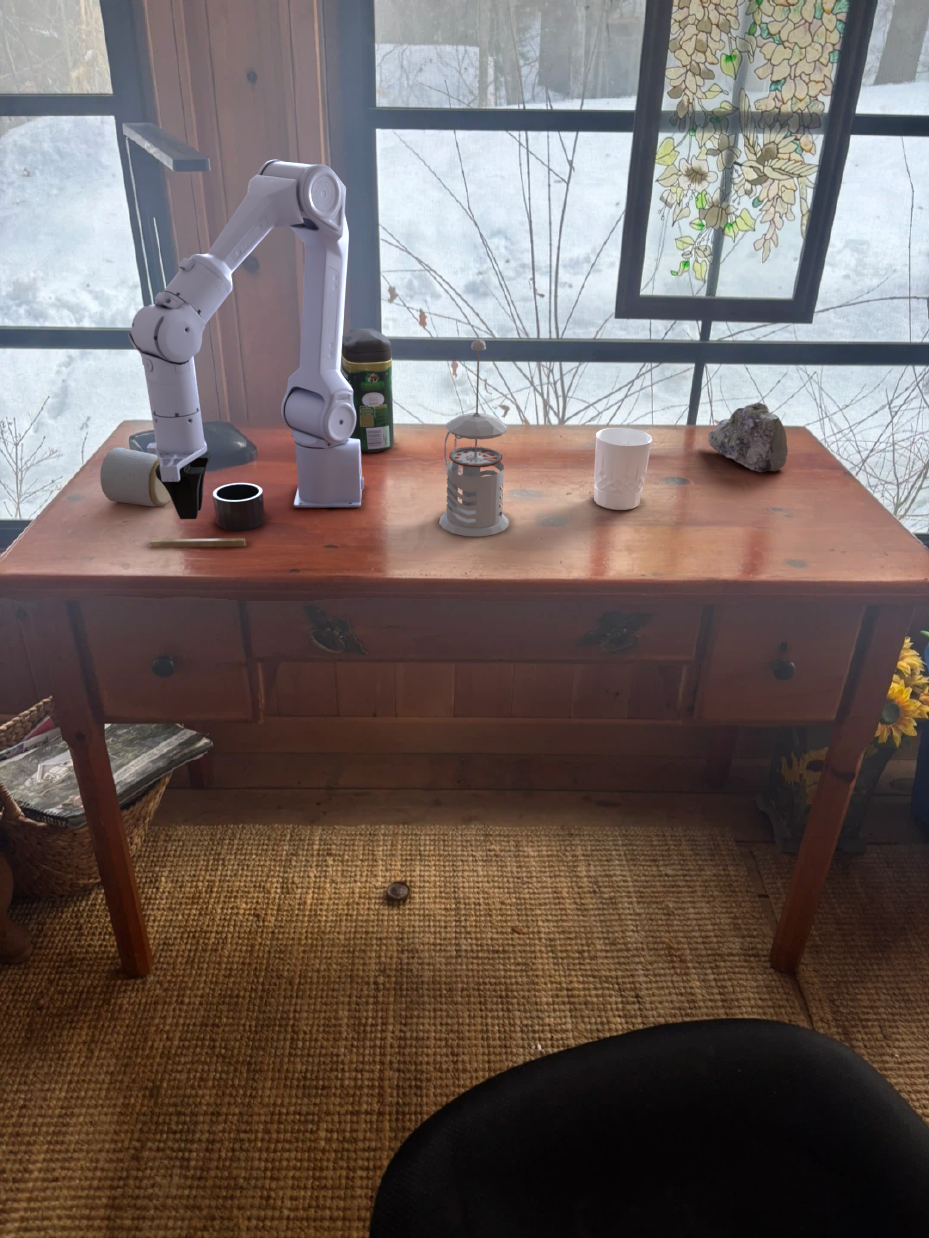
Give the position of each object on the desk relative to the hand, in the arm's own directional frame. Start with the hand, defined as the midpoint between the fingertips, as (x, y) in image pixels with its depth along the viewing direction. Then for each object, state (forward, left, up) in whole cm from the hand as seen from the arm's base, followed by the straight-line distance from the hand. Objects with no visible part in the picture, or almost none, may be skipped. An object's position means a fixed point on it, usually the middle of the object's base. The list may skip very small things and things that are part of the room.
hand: (190, 513), depth 117 cm
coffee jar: (-22, -38, -5) cm, 44 cm away
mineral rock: (-84, -30, -5) cm, 89 cm away
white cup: (-59, -13, -5) cm, 60 cm away
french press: (-37, -7, -5) cm, 38 cm away
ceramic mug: (+10, -15, -5) cm, 19 cm away
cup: (-5, -7, -4) cm, 10 cm away
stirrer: (0, 0, -4) cm, 4 cm away
